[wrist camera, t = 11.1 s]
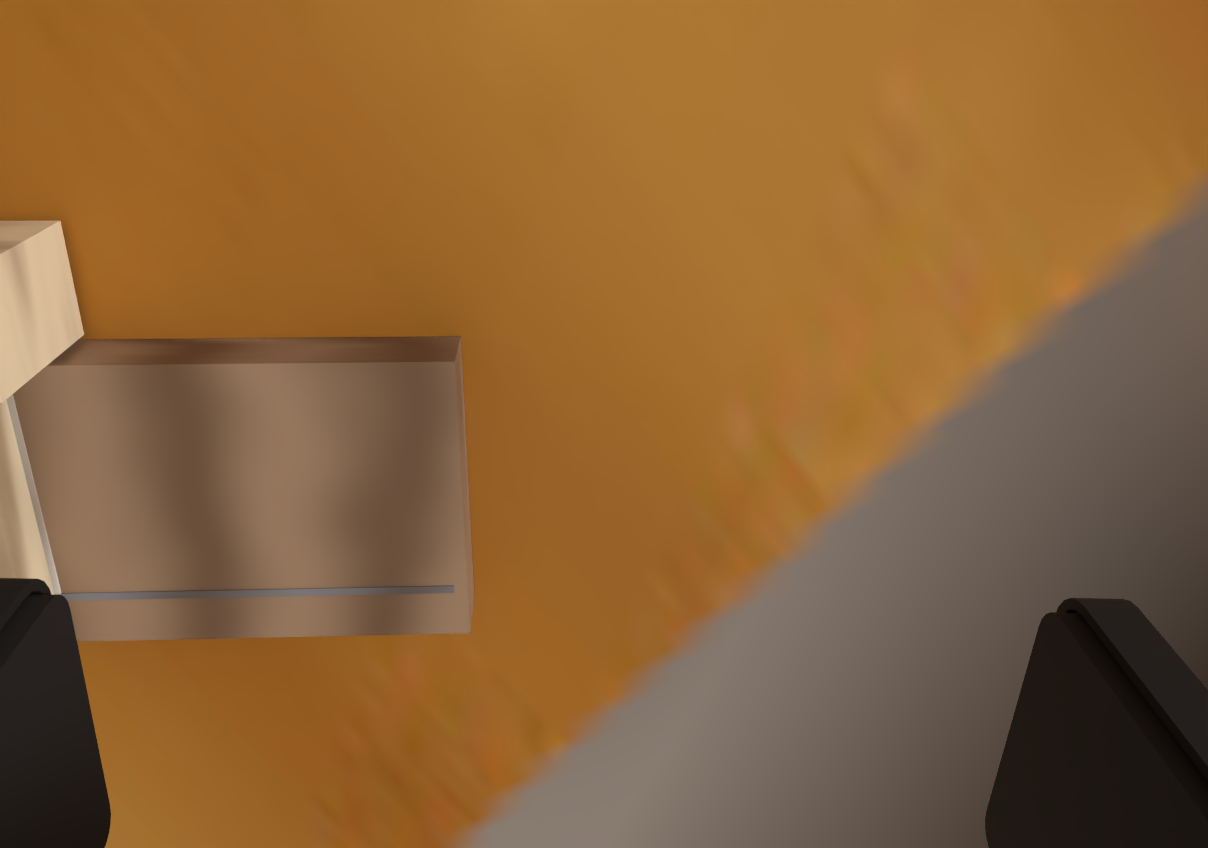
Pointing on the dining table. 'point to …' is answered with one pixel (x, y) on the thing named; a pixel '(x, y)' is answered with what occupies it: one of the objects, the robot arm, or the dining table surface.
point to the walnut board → (252, 486)
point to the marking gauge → (29, 368)
